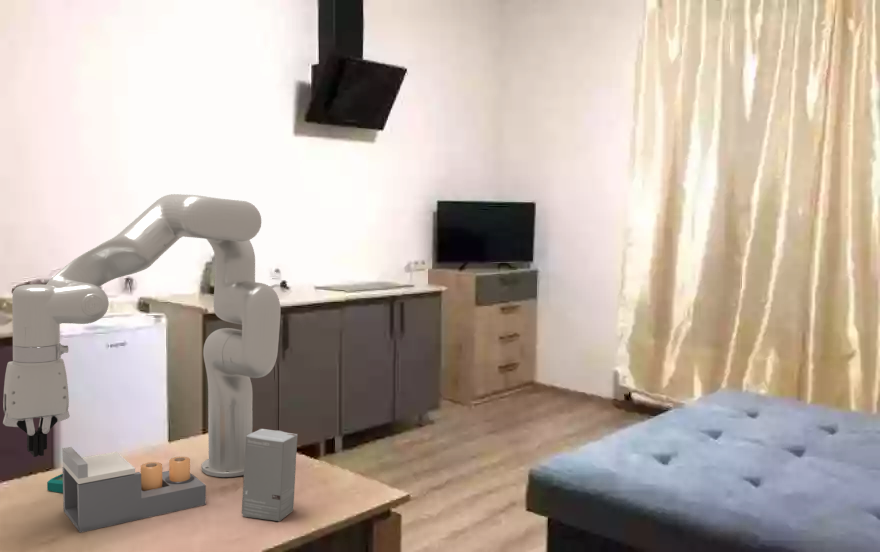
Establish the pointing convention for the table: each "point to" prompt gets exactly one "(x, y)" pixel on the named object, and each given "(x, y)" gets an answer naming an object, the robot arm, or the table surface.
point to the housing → (130, 497)
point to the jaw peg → (151, 476)
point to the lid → (95, 466)
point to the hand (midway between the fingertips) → (37, 454)
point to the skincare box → (269, 474)
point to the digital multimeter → (56, 484)
